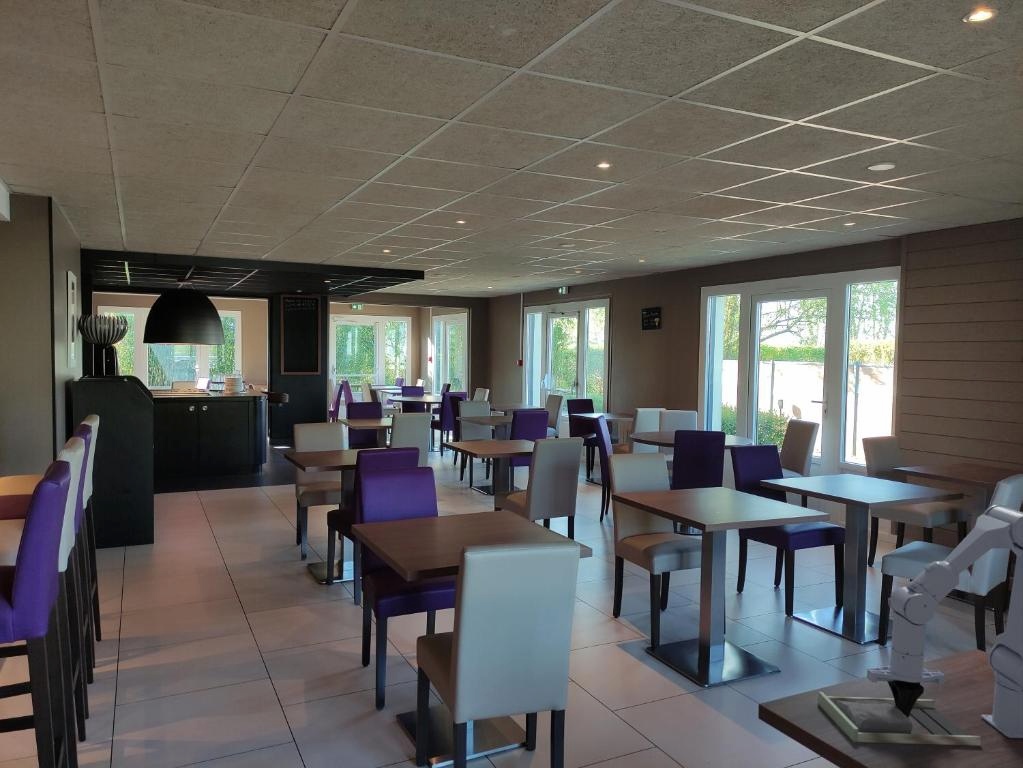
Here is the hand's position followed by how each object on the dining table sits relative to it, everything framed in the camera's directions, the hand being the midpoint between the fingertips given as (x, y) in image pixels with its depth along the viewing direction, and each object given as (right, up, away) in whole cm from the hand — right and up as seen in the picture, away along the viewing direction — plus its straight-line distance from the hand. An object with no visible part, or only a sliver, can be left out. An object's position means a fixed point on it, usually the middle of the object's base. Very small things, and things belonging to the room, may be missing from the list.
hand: (902, 716), depth 142 cm
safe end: (-13, -1, 0) cm, 13 cm away
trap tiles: (+7, -2, 0) cm, 7 cm away
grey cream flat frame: (-1, -1, 0) cm, 2 cm away
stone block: (-7, -1, -1) cm, 7 cm away
